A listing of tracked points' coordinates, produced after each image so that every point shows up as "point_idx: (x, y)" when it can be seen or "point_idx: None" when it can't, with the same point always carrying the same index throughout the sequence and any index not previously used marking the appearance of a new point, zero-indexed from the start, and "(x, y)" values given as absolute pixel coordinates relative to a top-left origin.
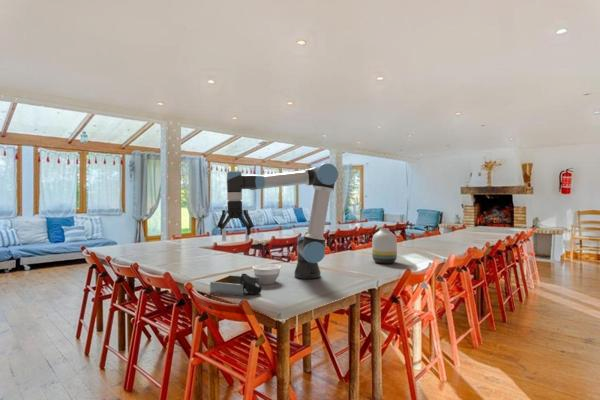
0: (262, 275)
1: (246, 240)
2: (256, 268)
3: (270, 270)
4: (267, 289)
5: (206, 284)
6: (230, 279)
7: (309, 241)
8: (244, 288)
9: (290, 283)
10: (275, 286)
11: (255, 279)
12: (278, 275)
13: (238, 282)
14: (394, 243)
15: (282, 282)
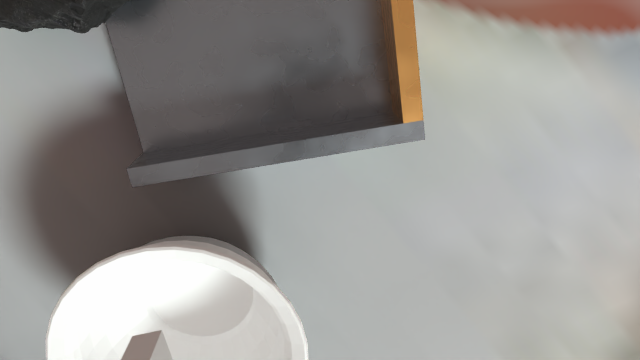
0: (153, 243)
1: (133, 353)
2: (283, 335)
3: (75, 290)
4: (64, 140)
5: (570, 36)
6: (392, 117)
7: None
8: (155, 5)
9: None
10: (77, 231)
11: (7, 18)
12: (112, 348)
13: (316, 124)
14: None
15: None
